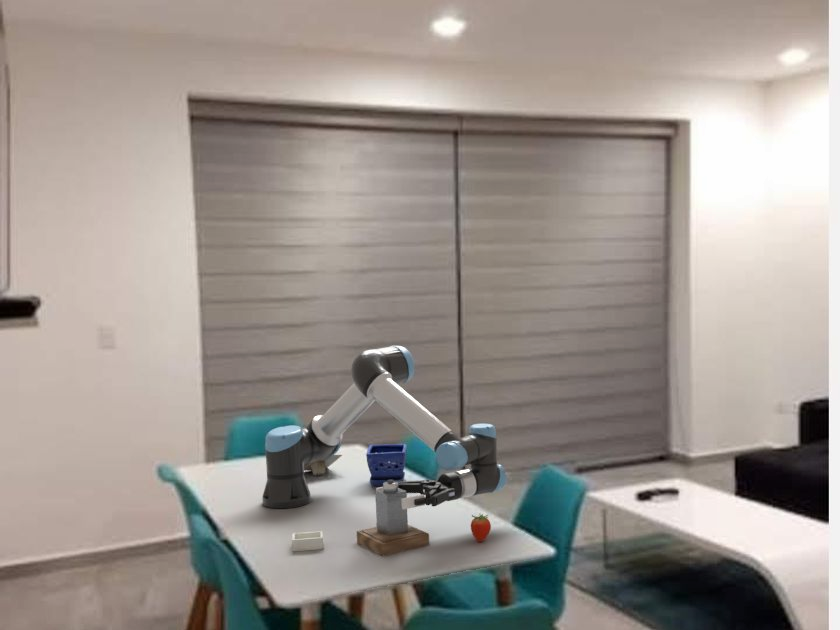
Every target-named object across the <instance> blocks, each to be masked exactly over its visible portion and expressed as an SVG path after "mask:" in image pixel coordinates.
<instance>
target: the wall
mask: <svg viewBox="0 0 840 630" xmlns="http://www.w3.org/2000/svg"><path fill="white" fill-rule="evenodd" d="M342 456H343V454H334V455H333V456H331V457H329V458H327V459H323V460H318V461H315V462H311V463H308V464H305V465H304V472H306V471H311V472H312V475H313V476H314V477H315V476H317V477H318V476H323V475H324V474H326V469H328V468H329V467H330V466H331V465H333V464H334V463H335V462H336V461H338V459H340V458H341V457H342Z"/></svg>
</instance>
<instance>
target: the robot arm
mask: <svg viewBox="0 0 840 630" xmlns="http://www.w3.org/2000/svg"><path fill="white" fill-rule="evenodd" d="M415 369H416V368H415V360H414V357H413V356H412V353H411V352H410V351H409V350H408V349H407V348H406V347H404V346H401V345H389V346H385V347H378V348H372V349H366V350H362V351H361V352H360V353H358V355H356V357H355V358H354V359H353V361H352V363H351V369H350V376H351V379H352V385H350V387H349V388H348V389H347V390H346V391H344V393H343V394H342V395H341V396H340V397H339V398H338V399H337V400H336V401H335V403H333V404H332V405H331V407H330V408H328V410H327V411H326V412H325V413H324V414H318V415H316V416H314V417H313V419H311V420H310V422H309V423H308V424H307V425H306V426H303V427H301V426H299V425H285V426H278V427H276V428H273V429H271V430H270V431H269V432H267V433H266V435H265V444H264V449H265V460H266V462H265V463H266V464H265V465H266V483H265V486H264V490H263V493H262V501H261V502H262V505H263V507H266V508H270V509H290V508H291V509H292V508H296V507H297V508H298V507H301V506H302V507H303V506H305V505H308V504H309V503H310V502H311V501H312V499H311V496H312V495H311V491H310V488H309V486H308V483H307V480H306V479H305V471H304V465H305V464H308V463H311V462H315V461H318V460H323V459H327V458H329V457H331V456H333V455H337V453H338V452H339V450H340V448H341V446H342V444H341V442H342V441H343V434H344V433H345V432H346V431H347V430H348V428H350V427H351V426H352V425H353V424H354V423H355V422H356V421H357V420H358V418H360V417H361V415H363V414H364V413H365V412H366V411H367V410H368V409H369V407H371V406H372V404H373V403H375V401H376V402H377V403H378V404H379V405H380V406H381V407H382V408H383V409H385V410H386V411H387V412H388V413H389V414H391V416H393V417H394V418H396V420H397V421H399V422H400V424H402V425H403V426H404V427H405V428H407V429H408V430H409V431H410V432H411V433H412V434H413V435H415V436H416V437H417V438H419V439H418V440H420V441H422V442H423V444H425V445H426V446H427V447H428V448H430V449H431V450H432V451H433V452H434V453H435V460H436V461H437V464H438V465H439V467H441V469H442V470H445V471H451V472H447V473H442V474H440V476H439V477H438V479H437V481H436V480H430V478H429V479H428V478H427V479H419V480H405V481H401V482H398V488H400V489H402V490H405V491H406V492H407V494H417V495H413V496H412V495H411V496H409V497H408V496H407V498H402V509H403V510H404V509H407V510H409V509H411V508H412V509H414V508H417V507H422V506H431V507H437V506H439V505H441V504H443V503H445V502H450V501H451V502H452V501H455V500H459V499H463V500H467V498H469V497H474V496H479V495H484V494H490V493H491V494H492V493H494V492H498V491H501V490H502V489H504V488H505V486H506V485H507V479H508V478H507V473H506V469H505V468H504V467H503V465H501V464H499V463H498V448H497V440H498V439H497V432H496V431H497V430H496V426H494V425H493V424H491V423H474V424H472V425H470V427H469V429H468V430H469V431H468V435H466V436H463V437H460V436H459V435H458V434H457V433H455V432H454V431H453V430H452V429H450V427H448V426H447V425H445V423H444V422H443V421H441V420H440V419H438V417H436V416H435V415H434V414H433V413H431V412H430V411H429V409H427V408H426V407H424V405H422V404H421V403H420V402H419V401H418V400H416V399H415V398H414V397H413V396H412V395H411V394H410V393H408V392H407V391H406V390H404V388H403V387H401V386H400V384H405V383H407V382H408V381H410V380H412V378H413V376H414V374H415ZM468 465H470V468H467V469H462V468H464V467H465V466H468ZM459 469H461V470H459ZM454 470H455V471H454ZM380 489H383V486H378V487H375V490H380ZM418 494H419V495H418Z"/></svg>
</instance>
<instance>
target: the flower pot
mask: <svg viewBox="0 0 840 630" xmlns="http://www.w3.org/2000/svg"><path fill="white" fill-rule="evenodd" d="M407 446H408V445H407V444H406V443H391V444H389V443H385V444H370V445H369V446H368V448H367V450H366V454H365V455H366V463H367V467H368V470H369V473H370V475H371V476H370V477H369V483H370V484H371V485H372V486H374V487H383V483H384V482H387V480H394V482H401V481H404V480H405V471H404V470H405V466H406V462H407V451H408V447H407Z"/></svg>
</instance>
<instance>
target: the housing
mask: <svg viewBox="0 0 840 630" xmlns="http://www.w3.org/2000/svg"><path fill="white" fill-rule="evenodd" d="M382 487H383V489H380V490H376V489H375V492H374V493H375V511H376V512H375V514H376V527H377V531H378V532H380V533H382V534H384V535H386V536H388V537H389V536H393V535H397V534H402V533H406V532H408V525H409V523H408V522H409V521H408V520H409V519H408V509H404V510H403V509H402V498H407V497H408V496H407V494H408V493H407V492H406V491H405V490H402V489H400V488H398V482H394V480H387V482H384V483H383V486H382Z"/></svg>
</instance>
